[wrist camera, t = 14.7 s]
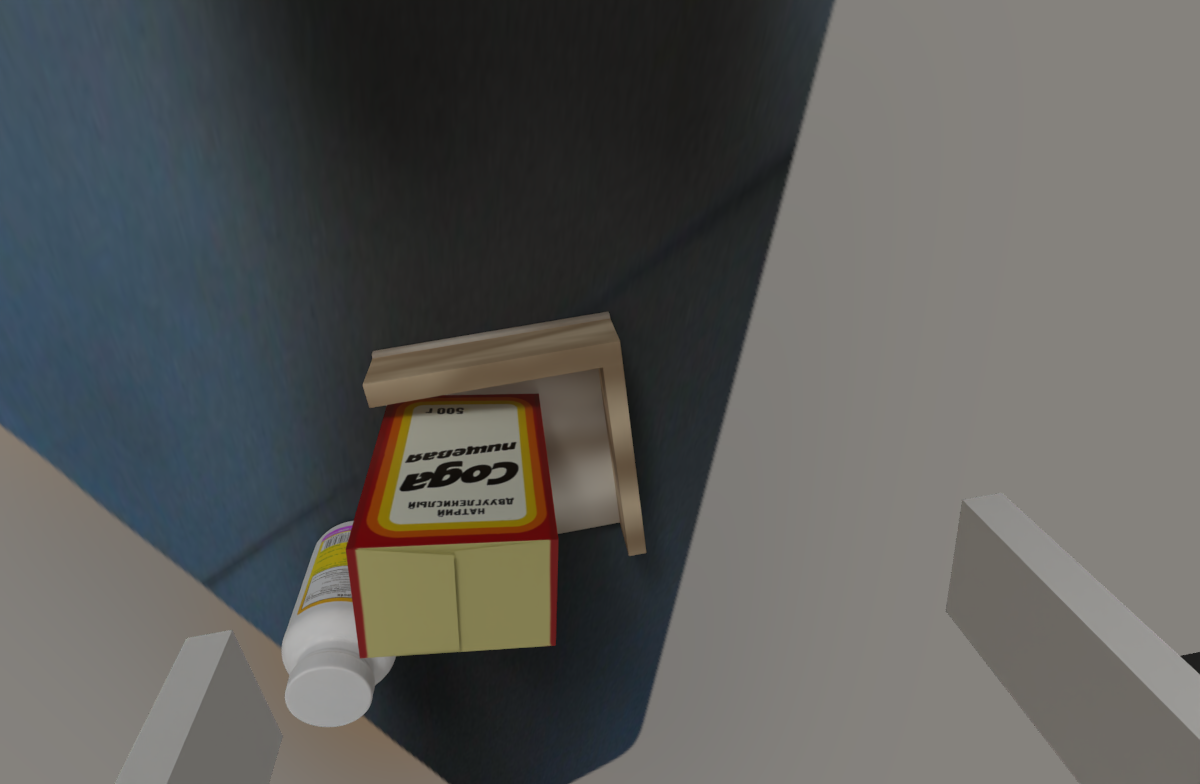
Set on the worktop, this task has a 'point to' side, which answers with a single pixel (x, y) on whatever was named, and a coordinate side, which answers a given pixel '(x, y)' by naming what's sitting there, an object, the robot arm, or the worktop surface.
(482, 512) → the baking soda box
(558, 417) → the wooden corner frame
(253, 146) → the worktop surface
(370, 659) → the supplement bottle
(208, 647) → the robot arm
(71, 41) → the worktop surface
